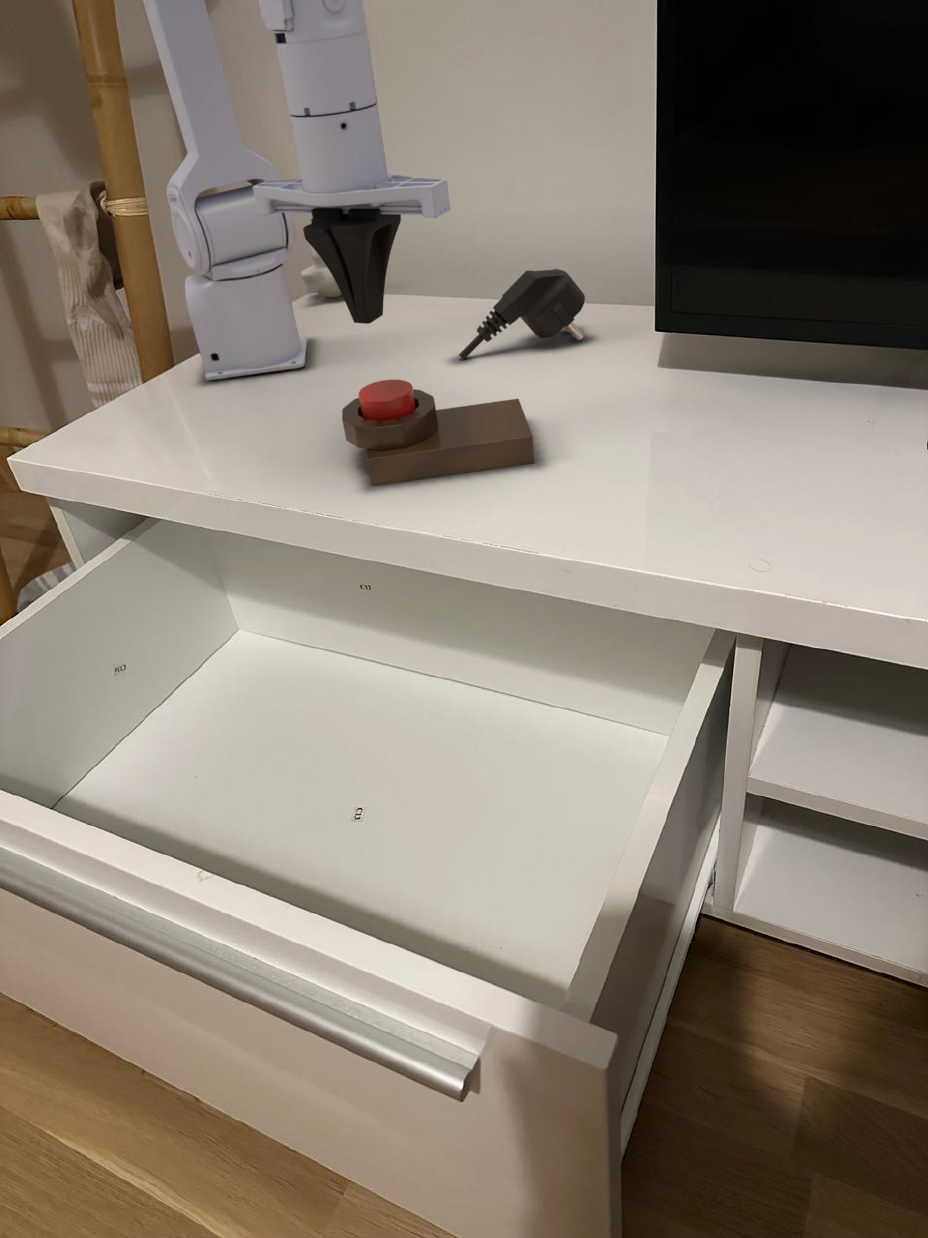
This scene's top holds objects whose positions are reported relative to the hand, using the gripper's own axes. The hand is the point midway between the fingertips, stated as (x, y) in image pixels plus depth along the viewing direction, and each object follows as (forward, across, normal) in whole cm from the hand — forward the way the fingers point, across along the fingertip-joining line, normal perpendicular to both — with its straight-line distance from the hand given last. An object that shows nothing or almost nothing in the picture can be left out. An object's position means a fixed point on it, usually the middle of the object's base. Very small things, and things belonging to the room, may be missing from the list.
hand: (368, 318), depth 67 cm
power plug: (+10, -2, -21) cm, 23 cm away
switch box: (+10, -6, +1) cm, 11 cm away
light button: (+6, -2, +2) cm, 7 cm away
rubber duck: (+10, +27, -31) cm, 42 cm away
